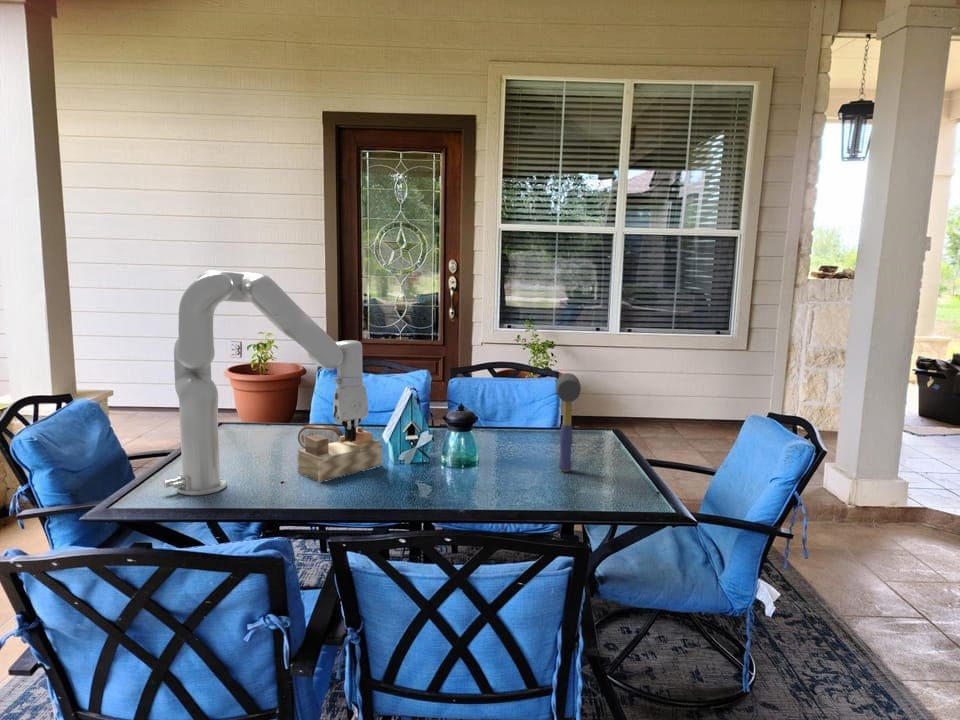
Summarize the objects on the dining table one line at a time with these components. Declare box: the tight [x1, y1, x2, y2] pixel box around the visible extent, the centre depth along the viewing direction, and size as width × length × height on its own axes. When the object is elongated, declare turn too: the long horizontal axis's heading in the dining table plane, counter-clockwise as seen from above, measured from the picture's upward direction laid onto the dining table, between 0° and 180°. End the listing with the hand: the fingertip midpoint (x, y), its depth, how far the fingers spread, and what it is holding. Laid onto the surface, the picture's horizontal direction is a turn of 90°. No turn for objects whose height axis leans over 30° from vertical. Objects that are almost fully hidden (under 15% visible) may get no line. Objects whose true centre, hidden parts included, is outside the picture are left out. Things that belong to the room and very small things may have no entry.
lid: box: [297, 435, 359, 462], centre depth 195 cm, size 14×12×6 cm
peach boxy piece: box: [353, 426, 374, 444], centre depth 203 cm, size 3×9×5 cm, turn 46°
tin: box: [297, 424, 344, 449], centre depth 219 cm, size 15×3×8 cm, turn 84°
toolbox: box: [296, 435, 383, 483], centre depth 198 cm, size 22×12×8 cm, turn 136°
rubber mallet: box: [555, 372, 582, 472], centre depth 200 cm, size 12×8×30 cm, turn 173°
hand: (350, 440), depth 200 cm, fingers closed
